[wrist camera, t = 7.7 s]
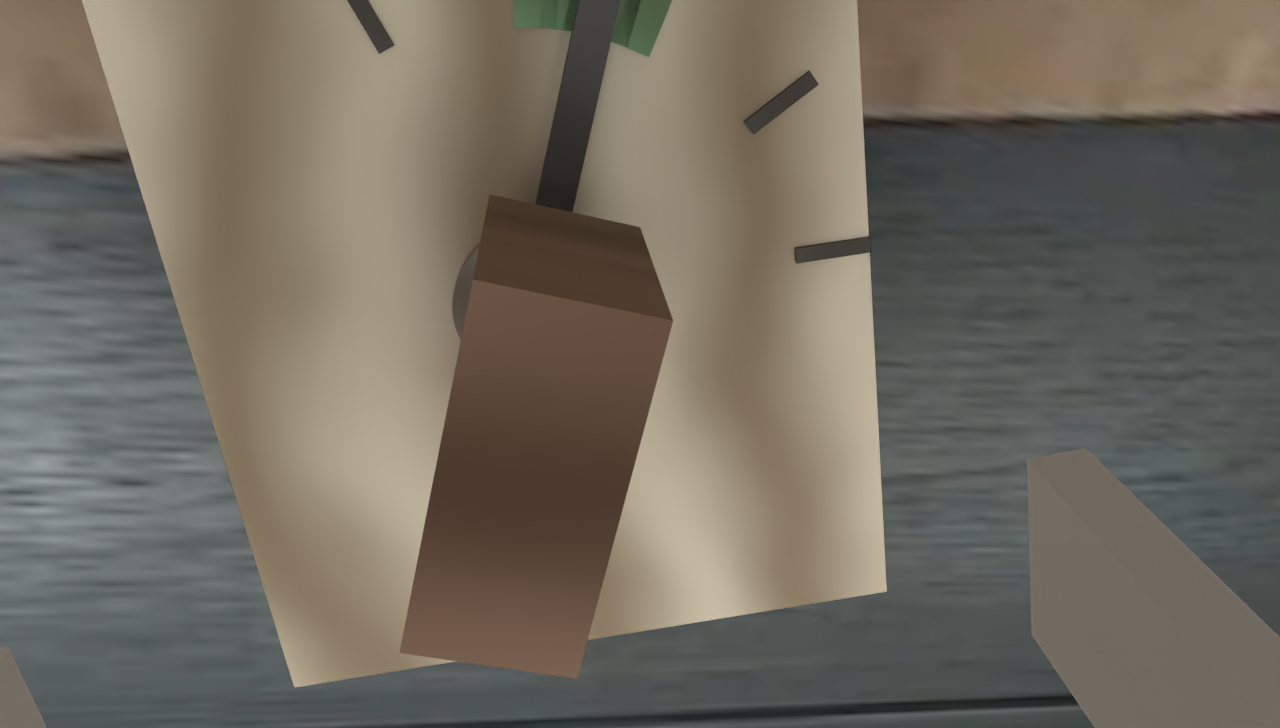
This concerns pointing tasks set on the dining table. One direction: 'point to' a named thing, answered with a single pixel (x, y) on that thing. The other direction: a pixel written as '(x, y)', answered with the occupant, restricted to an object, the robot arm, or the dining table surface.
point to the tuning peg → (540, 408)
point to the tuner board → (447, 233)
